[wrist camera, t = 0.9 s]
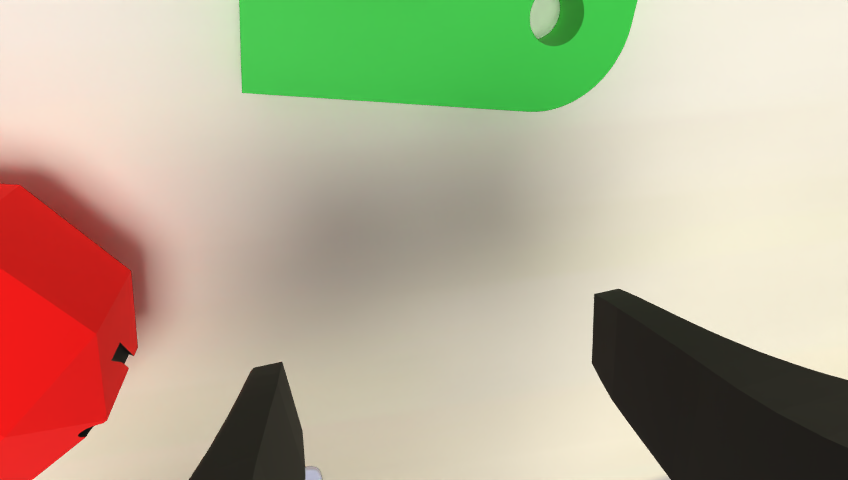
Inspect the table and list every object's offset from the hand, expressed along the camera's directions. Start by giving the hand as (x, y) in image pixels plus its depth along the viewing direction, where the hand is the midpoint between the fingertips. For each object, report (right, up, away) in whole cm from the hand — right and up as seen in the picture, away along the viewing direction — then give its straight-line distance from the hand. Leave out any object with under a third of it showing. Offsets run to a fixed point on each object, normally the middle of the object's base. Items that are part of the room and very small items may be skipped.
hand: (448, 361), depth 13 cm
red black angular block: (-15, +2, +7) cm, 16 cm away
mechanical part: (0, +11, +6) cm, 12 cm away
